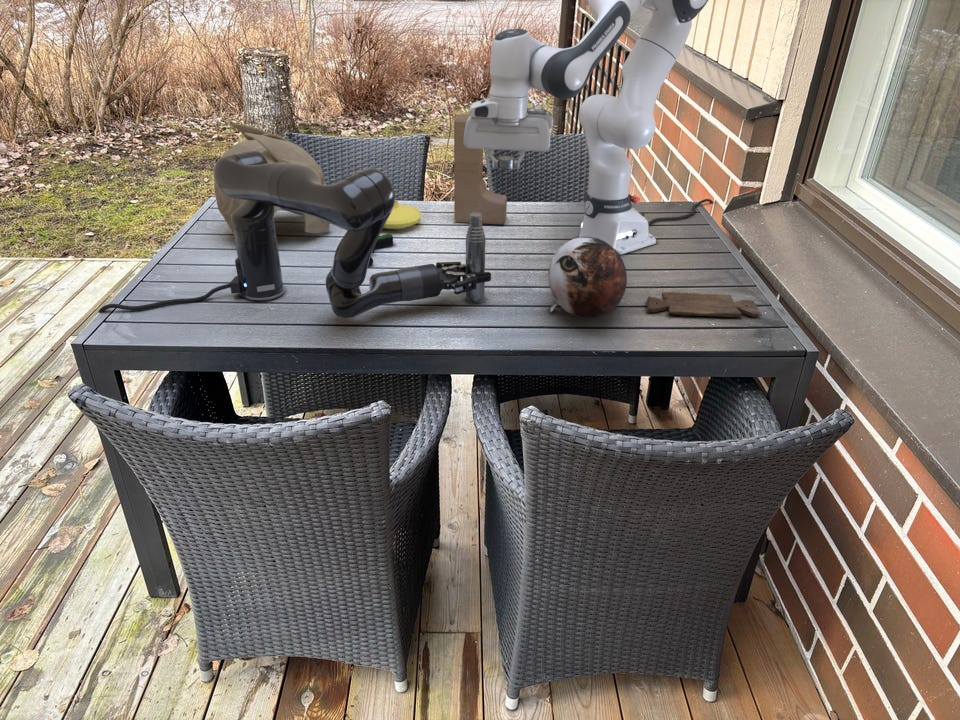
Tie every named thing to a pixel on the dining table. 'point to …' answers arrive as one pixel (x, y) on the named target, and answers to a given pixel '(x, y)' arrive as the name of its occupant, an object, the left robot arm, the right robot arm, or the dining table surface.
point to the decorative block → (473, 182)
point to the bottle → (475, 256)
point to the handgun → (382, 244)
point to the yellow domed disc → (402, 217)
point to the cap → (506, 162)
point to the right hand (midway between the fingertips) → (505, 168)
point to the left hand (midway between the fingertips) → (485, 272)
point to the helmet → (274, 152)
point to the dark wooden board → (702, 305)
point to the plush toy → (587, 277)
